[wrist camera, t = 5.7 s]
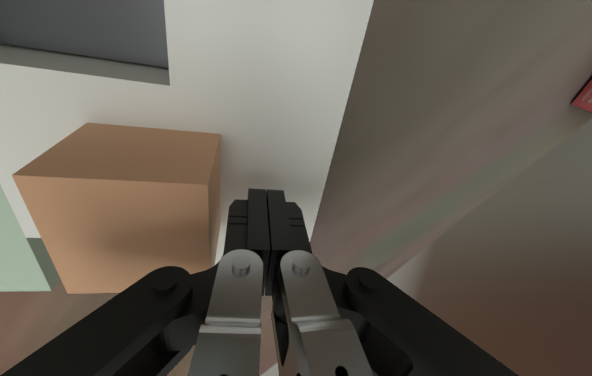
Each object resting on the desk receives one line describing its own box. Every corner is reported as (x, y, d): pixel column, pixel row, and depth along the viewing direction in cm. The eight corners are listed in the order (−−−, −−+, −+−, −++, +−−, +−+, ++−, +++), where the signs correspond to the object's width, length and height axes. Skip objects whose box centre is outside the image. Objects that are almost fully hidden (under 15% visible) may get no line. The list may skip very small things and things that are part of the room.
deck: (-293, -144, 8) (-1195, -396, 3) (349, -1, 12) (418, -7, 7) (-35, 249, 16) (-159, 354, 11) (291, 254, 20) (304, 333, 15)
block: (86, 122, 11) (11, 175, 7) (220, 133, 11) (207, 184, 8) (113, 222, 13) (67, 293, 10) (220, 224, 14) (210, 290, 11)
